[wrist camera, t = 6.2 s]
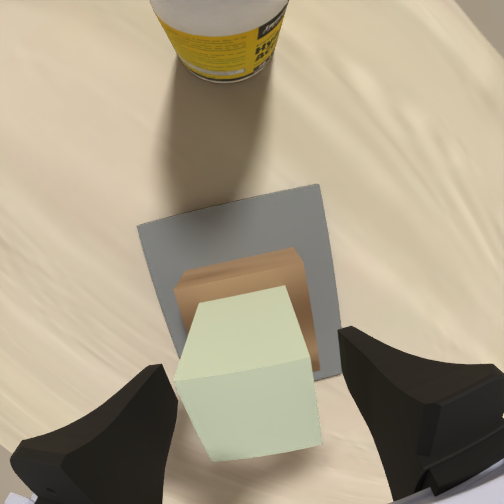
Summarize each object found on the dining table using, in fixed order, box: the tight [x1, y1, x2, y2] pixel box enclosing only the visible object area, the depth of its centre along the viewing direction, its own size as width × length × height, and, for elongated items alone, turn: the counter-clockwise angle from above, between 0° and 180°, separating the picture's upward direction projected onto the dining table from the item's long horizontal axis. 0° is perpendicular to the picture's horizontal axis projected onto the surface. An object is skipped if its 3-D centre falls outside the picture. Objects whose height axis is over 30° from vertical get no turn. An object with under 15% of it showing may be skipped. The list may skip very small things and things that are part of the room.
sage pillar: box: [173, 285, 323, 462], centre depth 12 cm, size 4×4×6 cm
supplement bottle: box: [150, 0, 289, 83], centre depth 10 cm, size 5×5×10 cm
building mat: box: [137, 184, 342, 380], centre depth 18 cm, size 12×10×1 cm
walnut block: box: [173, 247, 321, 372], centre depth 16 cm, size 6×6×3 cm
